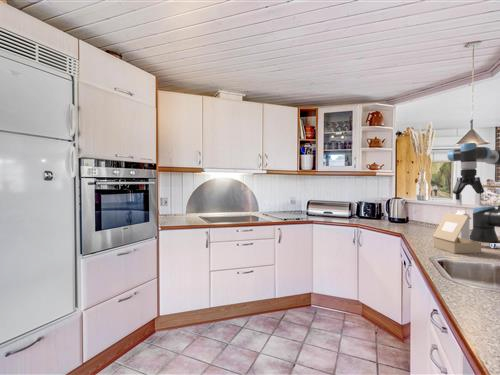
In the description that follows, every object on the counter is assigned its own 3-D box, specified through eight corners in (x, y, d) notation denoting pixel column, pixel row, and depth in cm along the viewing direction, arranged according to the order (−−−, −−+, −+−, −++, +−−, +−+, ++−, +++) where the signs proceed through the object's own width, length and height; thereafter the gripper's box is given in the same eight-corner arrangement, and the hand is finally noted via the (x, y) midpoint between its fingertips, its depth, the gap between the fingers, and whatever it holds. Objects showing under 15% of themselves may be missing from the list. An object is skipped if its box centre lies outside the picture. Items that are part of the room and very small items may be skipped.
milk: (460, 243, 187) (461, 209, 186) (469, 245, 181) (469, 210, 180) (452, 243, 186) (453, 209, 185) (461, 245, 180) (461, 210, 179)
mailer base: (458, 246, 177) (458, 237, 177) (481, 253, 161) (481, 242, 161) (433, 247, 176) (433, 237, 175) (454, 253, 160) (454, 243, 159)
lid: (449, 215, 176) (445, 212, 176) (472, 218, 160) (468, 215, 159) (436, 239, 176) (432, 236, 176) (458, 245, 159) (453, 242, 159)
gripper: (479, 169, 176) (479, 203, 177) (445, 169, 171) (445, 204, 172) (492, 168, 169) (491, 204, 169) (456, 169, 164) (456, 206, 164)
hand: (468, 204), depth 170 cm, fingers open, 13 cm apart
